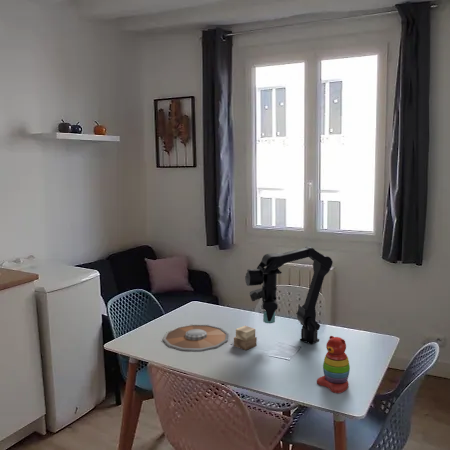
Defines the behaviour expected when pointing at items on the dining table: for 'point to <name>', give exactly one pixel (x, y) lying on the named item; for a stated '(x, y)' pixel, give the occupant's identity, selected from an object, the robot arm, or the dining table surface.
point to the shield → (196, 337)
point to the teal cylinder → (267, 318)
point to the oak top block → (245, 333)
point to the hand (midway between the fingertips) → (269, 319)
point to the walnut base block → (245, 343)
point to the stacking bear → (335, 366)
